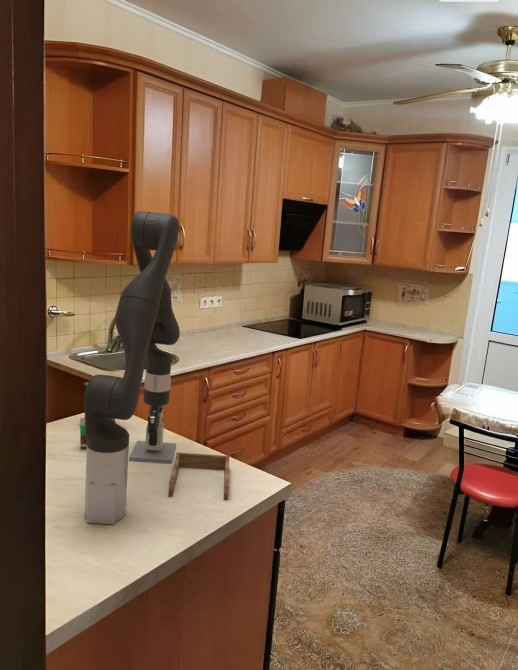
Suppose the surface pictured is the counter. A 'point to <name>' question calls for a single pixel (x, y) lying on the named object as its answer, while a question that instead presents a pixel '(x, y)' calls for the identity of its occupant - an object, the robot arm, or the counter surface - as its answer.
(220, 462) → the wooden u-shaped frame
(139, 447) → the slate mat
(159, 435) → the sage block
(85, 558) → the counter surface
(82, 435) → the food container
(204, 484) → the counter surface
